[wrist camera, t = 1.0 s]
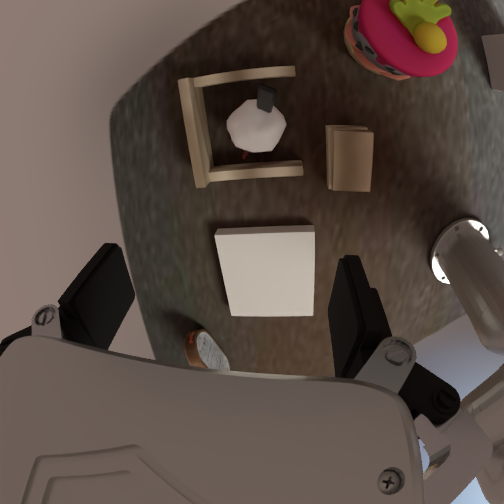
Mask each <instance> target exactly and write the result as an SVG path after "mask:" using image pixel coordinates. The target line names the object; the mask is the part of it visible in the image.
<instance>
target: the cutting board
mask: <svg viewBox="0 0 504 504" xmlns="http://www.w3.org/2000/svg"><path fill="white" fill-rule="evenodd" d="M214 236H215V241H216V246H217V251H218V255H219V260H220V265H221V270H222V274H223V279H224V284H225V288H226V293H227V297H228V302H229V306H230V311H231V315H232V316H313V302H314V264H315V230H314V225H297V226H268V227H244V228H222V229H217V231H216V233H215V235H214Z"/></svg>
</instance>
